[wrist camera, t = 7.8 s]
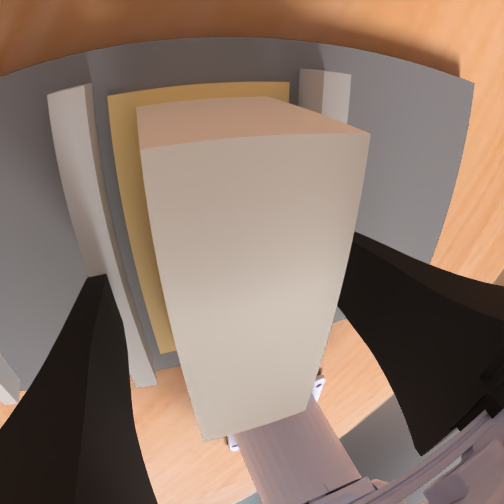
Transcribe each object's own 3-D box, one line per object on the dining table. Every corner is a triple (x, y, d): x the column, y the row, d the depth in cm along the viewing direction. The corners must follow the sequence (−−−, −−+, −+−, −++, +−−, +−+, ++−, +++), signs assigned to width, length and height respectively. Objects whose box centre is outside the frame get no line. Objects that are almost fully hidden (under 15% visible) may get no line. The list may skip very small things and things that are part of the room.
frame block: (258, 323, 15) (305, 410, 11) (175, 343, 14) (203, 442, 10) (266, 96, 9) (370, 133, 5) (135, 107, 8) (139, 149, 4)
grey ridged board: (410, 282, 20) (432, 304, 18) (1, 378, 13) (-3, 414, 11) (460, 79, 12) (496, 90, 10) (-113, 139, 5) (-147, 161, 3)
